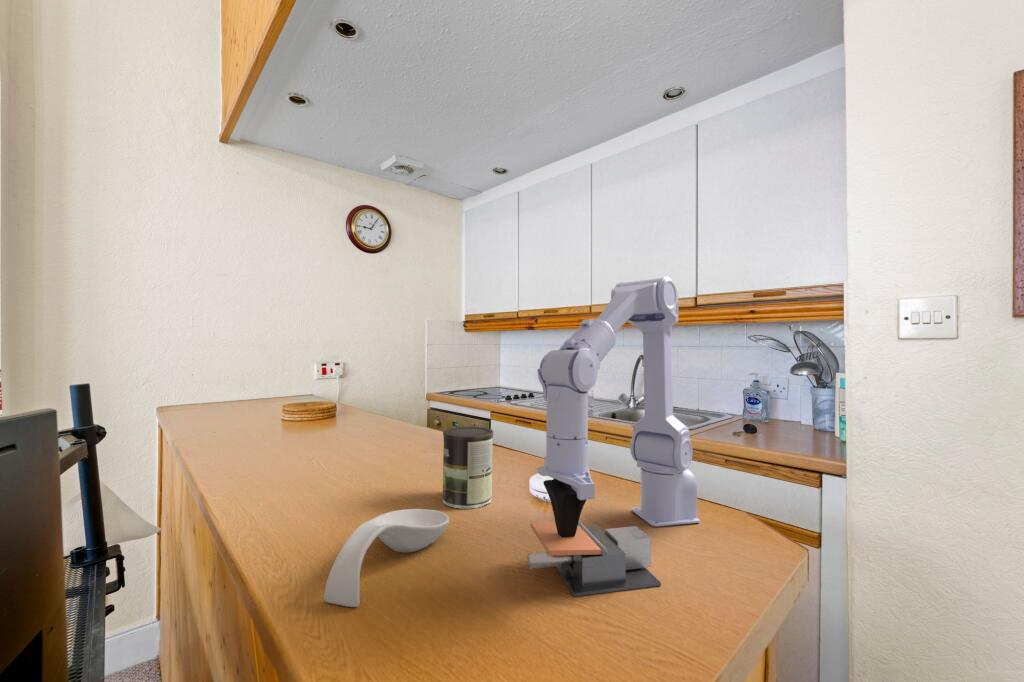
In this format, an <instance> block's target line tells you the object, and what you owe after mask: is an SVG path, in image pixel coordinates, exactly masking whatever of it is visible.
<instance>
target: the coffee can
mask: <svg viewBox="0 0 1024 682" xmlns="http://www.w3.org/2000/svg"><path fill="white" fill-rule="evenodd" d="M442 437H443V453H442V454H443V457H442V459H443V460H442V462H443V463H442V468H443V469H442V471H443V472H442V499H441V501H443V502H442V504H444V505H445V504H446V505H447V506H446V505H445V506H446V507H448V506H450V507H449V508H452V507H453V508H452V509H456V508H459V509H460V510H472V509H471V508H475V509H479V508H478V507H480V508H483V507H485V506H484V505H486V504H488V503H490V502H492V501H493V496H492V495H493V490H492V489H493V442H494V441H493V440H494V439H493V438H494V430H493V429H491V428H487V427H481V426H460V427H452V428H448V429H444V430H443V433H442ZM491 500H492V501H491ZM490 504H491V503H490ZM488 505H489V504H488ZM482 506H483V507H482ZM486 506H487V505H486ZM459 509H458V510H459Z"/></svg>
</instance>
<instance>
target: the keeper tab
mask: <svg viewBox="0 0 1024 682" xmlns="http://www.w3.org/2000/svg"><path fill="white" fill-rule="evenodd" d="M529 527H530V528H531V530H532V531H533V533H534V535H535V536H536V538H537V539H538V540H539V542H540V544H541V545H542V547H543V548H544V550H545V552H547V553H548V554H549V555H592V554H602V555H603V556H606V555H607V554H608V550H607V549H606V548H605V547H604V546H603V545H602V544H601V543H600V542H599V541H598V540H597V539H596V538H595V537H594V535H593V534H592V533H591V532H590V531H589V530H588V529H587V528H586V527H587V526H586V525H584V524H583V523H582V522H581V521H580V520H579V522H578V526H577V530H576V534H575V536H574V537H560V535H559V534H558V532H557V528H556V524H555V521H530V526H529Z"/></svg>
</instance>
